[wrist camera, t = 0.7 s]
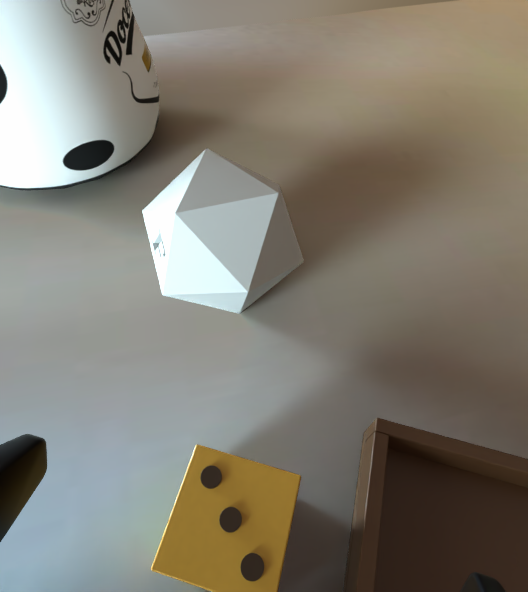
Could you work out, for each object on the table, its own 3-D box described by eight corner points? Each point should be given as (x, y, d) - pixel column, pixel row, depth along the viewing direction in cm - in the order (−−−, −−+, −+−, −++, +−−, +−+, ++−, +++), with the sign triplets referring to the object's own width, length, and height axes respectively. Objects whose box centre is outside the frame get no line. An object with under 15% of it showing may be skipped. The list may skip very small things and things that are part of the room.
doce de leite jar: (208, 138, 36) (179, -168, 21) (34, 247, 28) (-206, -114, 13) (88, 70, 42) (1, -205, 27) (-83, 145, 34) (-339, -184, 19)
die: (191, 223, 31) (89, 175, 22) (297, 172, 28) (231, 92, 19) (219, 328, 29) (121, 326, 20) (335, 286, 26) (284, 261, 17)
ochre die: (267, 604, 17) (273, 613, 13) (170, 570, 18) (149, 570, 14) (292, 490, 20) (302, 471, 16) (206, 464, 20) (196, 439, 17)
